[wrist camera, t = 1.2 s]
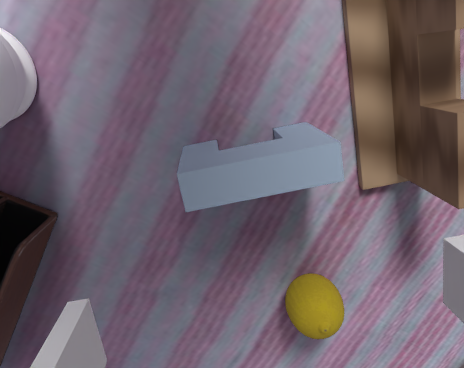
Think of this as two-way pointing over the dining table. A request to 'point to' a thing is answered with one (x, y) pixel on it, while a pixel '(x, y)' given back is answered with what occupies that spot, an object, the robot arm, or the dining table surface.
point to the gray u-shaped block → (258, 167)
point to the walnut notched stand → (407, 93)
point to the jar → (15, 78)
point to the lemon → (314, 306)
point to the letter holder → (19, 257)
